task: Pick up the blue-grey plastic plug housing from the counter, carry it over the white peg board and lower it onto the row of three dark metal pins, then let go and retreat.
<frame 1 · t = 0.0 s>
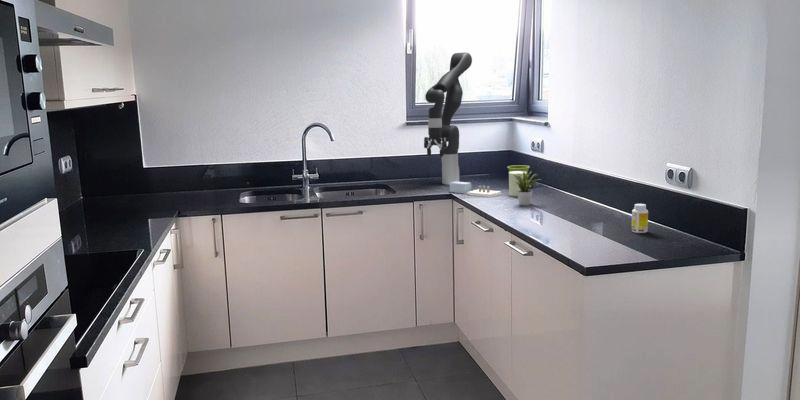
hand: (435, 156, 348), 17 cm above the worktop, tool pointing down, fingers open, 8 cm apart
supplement bottle: (639, 232, 233), on the worktop
can: (518, 195, 318), on the worktop
plug housing: (460, 192, 332), on the worktop
house plant: (523, 205, 292), on the worktop
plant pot: (518, 187, 340), on the worktop
white peg board: (484, 194, 322), on the worktop
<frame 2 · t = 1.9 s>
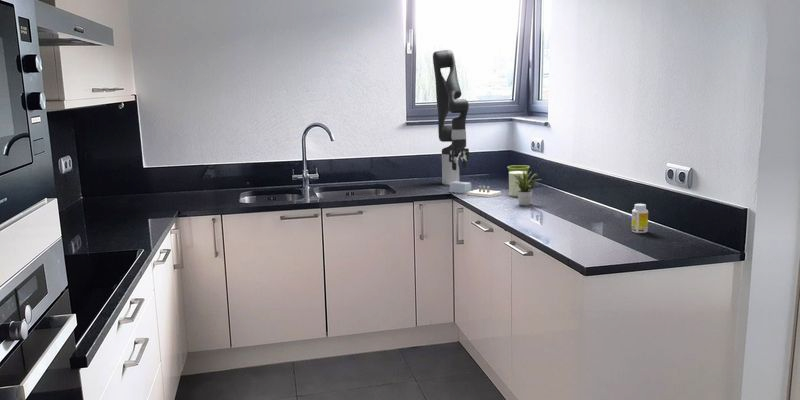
hand: (459, 169, 329), 12 cm above the worktop, tool pointing down, fingers open, 8 cm apart
nothing on the worktop moved.
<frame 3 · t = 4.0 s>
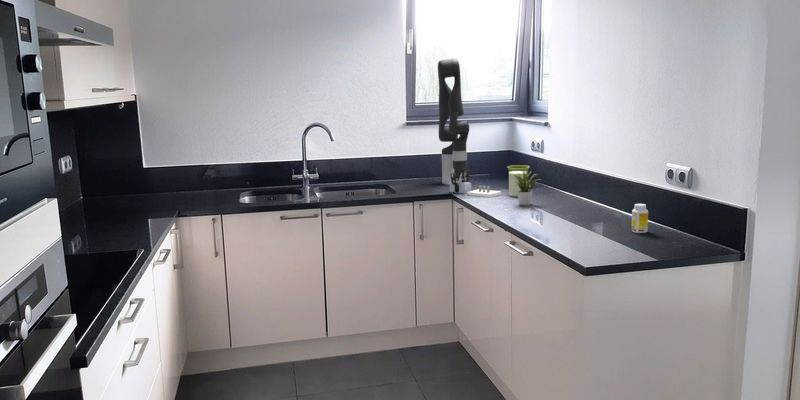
hand: (460, 191, 332), 0 cm above the worktop, tool pointing down, fingers closed on plug housing, 5 cm apart
plug housing: (460, 192, 332), on the worktop, touching gripper
everything else where it was.
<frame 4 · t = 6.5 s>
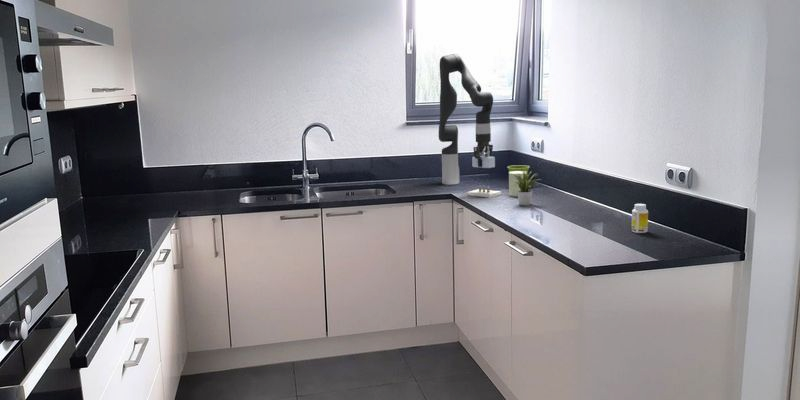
hand: (483, 165, 319), 15 cm above the worktop, tool pointing down, fingers closed on plug housing, 5 cm apart
plug housing: (483, 166, 319), point 14 cm above the worktop, touching gripper
everything else where it was.
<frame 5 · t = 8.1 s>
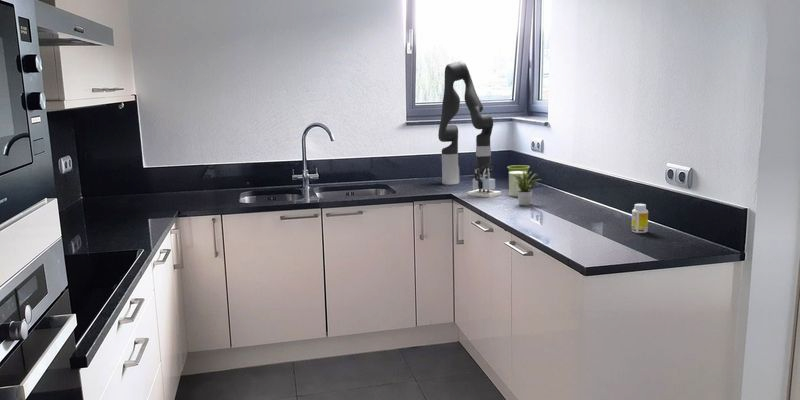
hand: (483, 187, 321), 4 cm above the worktop, tool pointing down, fingers closed on plug housing, 5 cm apart
plug housing: (483, 188, 321), point 3 cm above the worktop, touching gripper
everything else where it was.
when the fingers open (3 cm above the worktop, at t = 9.4 s): plug housing stays where it is, resting on white peg board.
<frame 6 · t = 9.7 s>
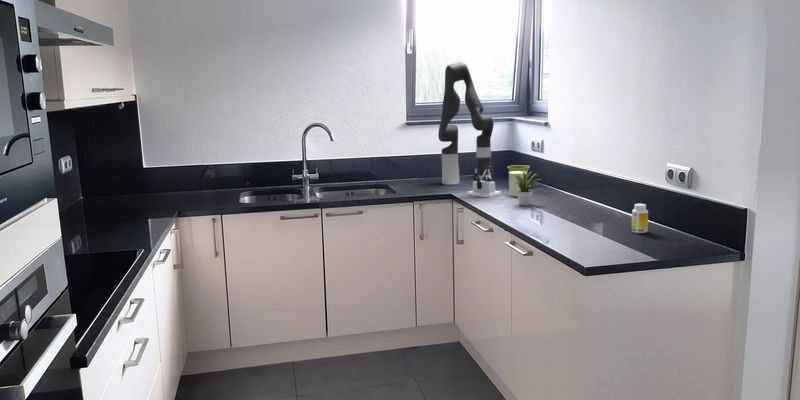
hand: (484, 187, 321), 4 cm above the worktop, tool pointing down, fingers open, 8 cm apart
plug housing: (484, 191, 322), point 2 cm above the worktop, touching white peg board
everything else where it was.
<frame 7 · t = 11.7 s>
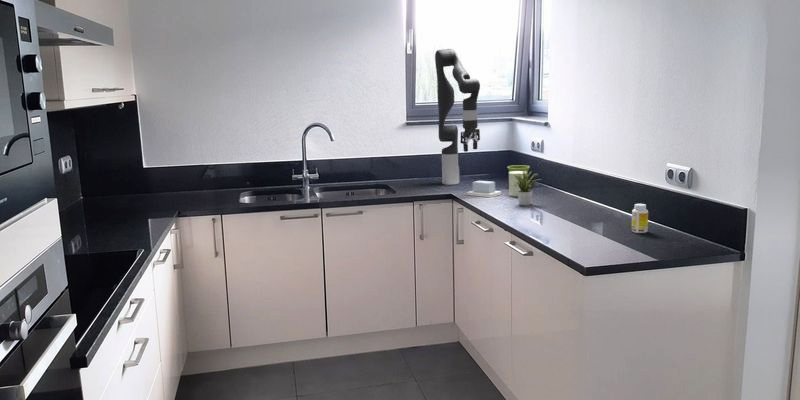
hand: (470, 150, 326), 22 cm above the worktop, tool pointing down, fingers open, 8 cm apart
nothing on the worktop moved.
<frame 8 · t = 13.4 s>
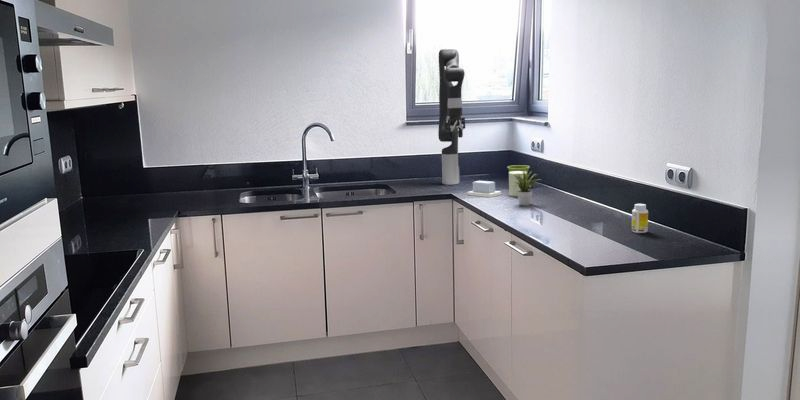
hand: (455, 138, 331), 28 cm above the worktop, tool pointing down, fingers open, 8 cm apart
nothing on the worktop moved.
at the end: plug housing 0.0 cm off-centre on the white peg board, point 1.6 cm above the white peg board's base; plug housing tilted 1°; the gripper is holding nothing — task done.
